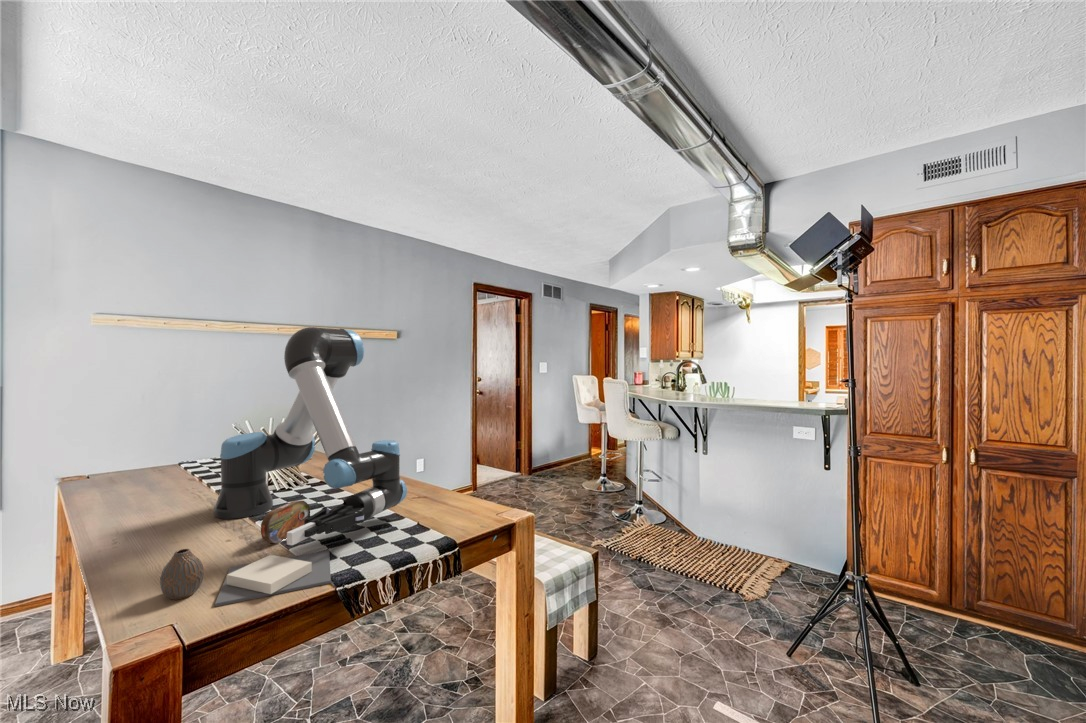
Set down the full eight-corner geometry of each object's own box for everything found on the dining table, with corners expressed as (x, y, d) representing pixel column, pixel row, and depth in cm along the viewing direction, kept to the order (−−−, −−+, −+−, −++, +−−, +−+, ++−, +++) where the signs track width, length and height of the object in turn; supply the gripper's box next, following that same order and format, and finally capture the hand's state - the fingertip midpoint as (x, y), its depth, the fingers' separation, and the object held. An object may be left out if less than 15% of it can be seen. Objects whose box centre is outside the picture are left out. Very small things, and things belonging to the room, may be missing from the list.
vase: (188, 602, 88) (188, 557, 88) (150, 604, 87) (150, 559, 87) (212, 585, 95) (211, 543, 94) (177, 586, 94) (176, 544, 94)
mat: (230, 569, 101) (230, 566, 101) (329, 552, 110) (329, 549, 110) (214, 606, 86) (214, 603, 86) (330, 583, 95) (330, 580, 95)
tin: (269, 548, 113) (268, 515, 112) (258, 547, 113) (257, 514, 113) (311, 526, 127) (311, 496, 127) (301, 525, 128) (301, 496, 128)
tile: (270, 564, 103) (226, 585, 93) (270, 554, 103) (226, 574, 93) (311, 572, 99) (270, 595, 89) (311, 562, 99) (270, 584, 89)
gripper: (383, 522, 120) (312, 559, 98) (343, 516, 124) (267, 551, 102) (383, 493, 120) (312, 525, 98) (343, 489, 124) (266, 518, 102)
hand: (289, 538), depth 100 cm, fingers closed
